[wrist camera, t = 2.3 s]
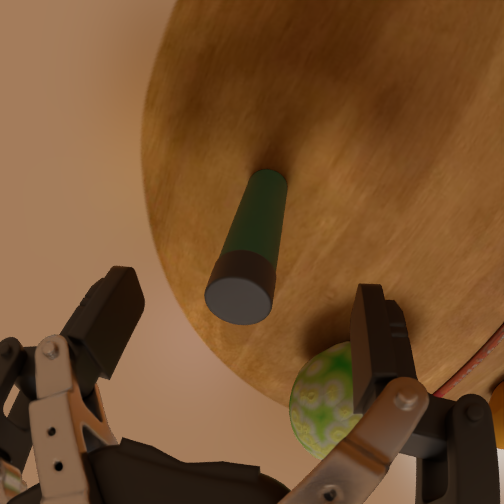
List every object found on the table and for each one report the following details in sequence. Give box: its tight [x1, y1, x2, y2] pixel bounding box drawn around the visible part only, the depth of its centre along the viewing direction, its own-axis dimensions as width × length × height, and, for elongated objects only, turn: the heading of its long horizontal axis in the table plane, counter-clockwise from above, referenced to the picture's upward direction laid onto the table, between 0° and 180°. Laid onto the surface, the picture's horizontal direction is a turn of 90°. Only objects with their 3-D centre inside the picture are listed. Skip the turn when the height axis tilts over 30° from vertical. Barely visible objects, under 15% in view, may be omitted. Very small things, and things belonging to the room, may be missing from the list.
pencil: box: [433, 324, 504, 398], centre depth 25 cm, size 19×1×1 cm, turn 169°
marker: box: [204, 169, 287, 325], centre depth 14 cm, size 2×2×9 cm
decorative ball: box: [289, 341, 363, 460], centre depth 21 cm, size 10×10×10 cm
